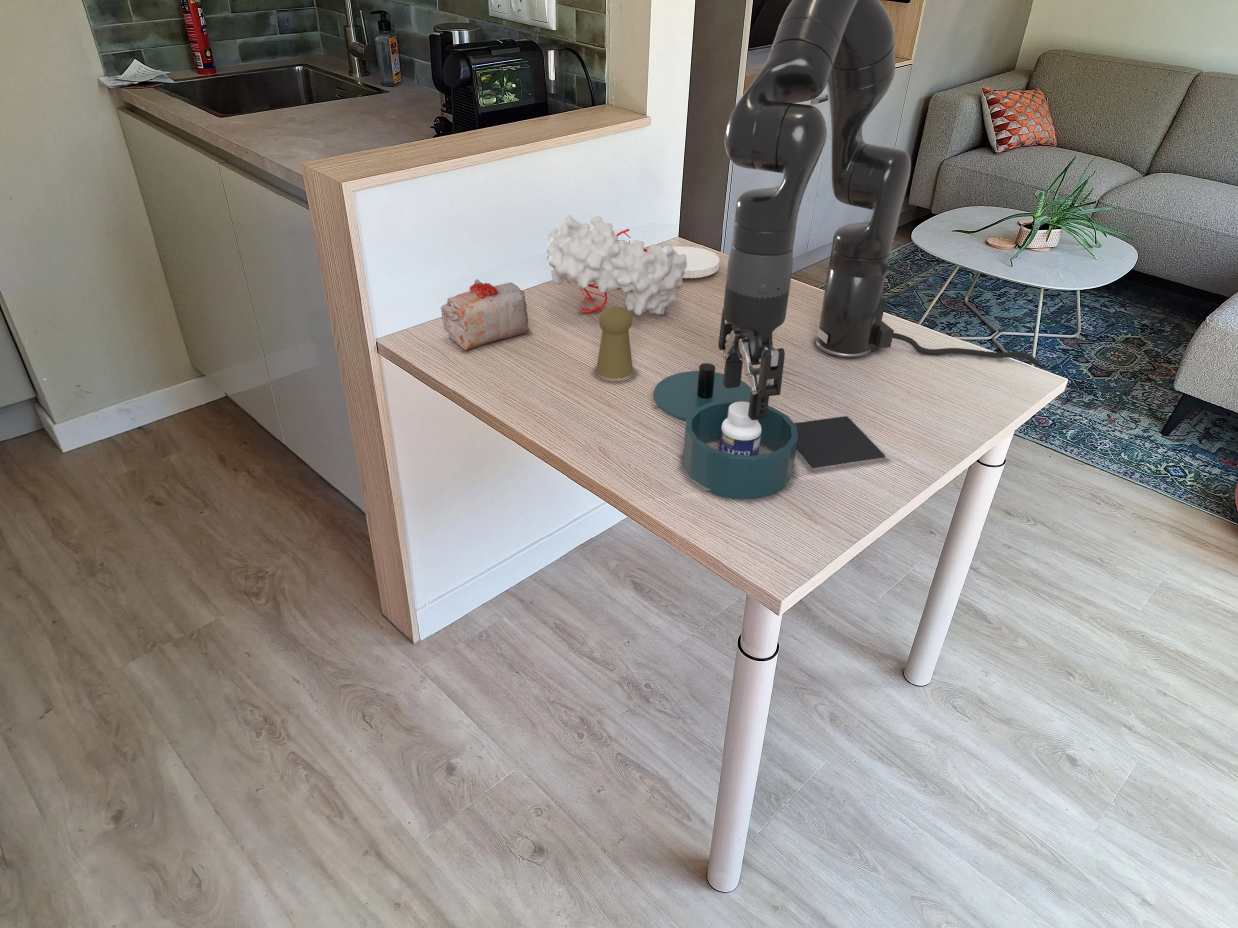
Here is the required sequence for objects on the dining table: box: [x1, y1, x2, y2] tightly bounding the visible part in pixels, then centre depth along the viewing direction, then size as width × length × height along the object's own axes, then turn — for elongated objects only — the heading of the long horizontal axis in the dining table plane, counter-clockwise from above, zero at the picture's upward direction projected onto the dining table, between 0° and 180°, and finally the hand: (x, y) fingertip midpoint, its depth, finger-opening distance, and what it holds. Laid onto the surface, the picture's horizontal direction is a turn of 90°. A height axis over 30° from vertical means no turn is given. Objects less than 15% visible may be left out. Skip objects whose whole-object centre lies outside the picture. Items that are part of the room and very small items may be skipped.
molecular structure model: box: [546, 214, 687, 316], centre depth 152 cm, size 20×18×25 cm
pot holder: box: [793, 415, 886, 469], centre depth 119 cm, size 11×11×1 cm
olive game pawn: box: [596, 305, 634, 380], centre depth 133 cm, size 6×6×11 cm
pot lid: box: [653, 362, 752, 422], centre depth 128 cm, size 16×16×6 cm
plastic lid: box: [672, 245, 721, 279], centre depth 173 cm, size 14×14×2 cm
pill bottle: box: [718, 402, 762, 456], centre depth 112 cm, size 5×5×9 cm
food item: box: [439, 278, 530, 351], centre depth 144 cm, size 14×8×10 cm, turn 125°
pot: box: [682, 400, 798, 500], centre depth 113 cm, size 15×15×6 cm
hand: (743, 401), depth 109 cm, fingers open, 8 cm apart
